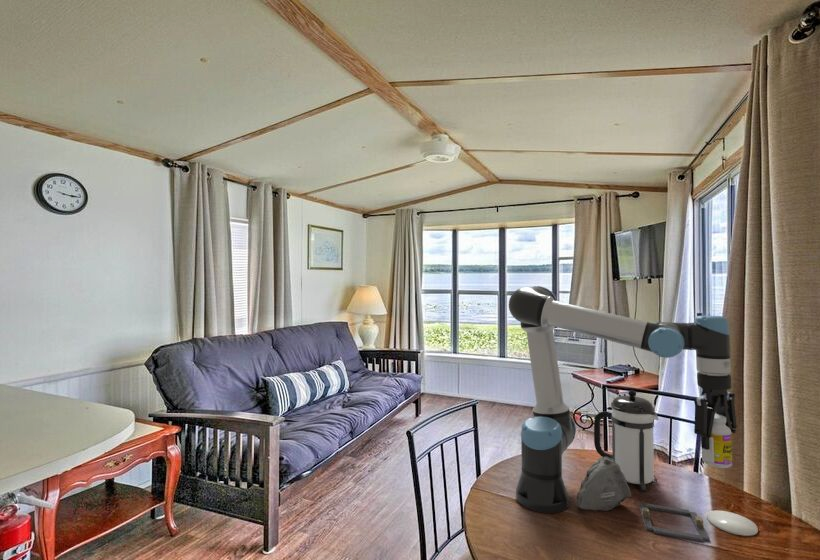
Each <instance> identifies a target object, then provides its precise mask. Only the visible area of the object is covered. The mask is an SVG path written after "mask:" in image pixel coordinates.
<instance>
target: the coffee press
mask: <svg viewBox="0 0 820 560" xmlns="http://www.w3.org/2000/svg"><path fill="white" fill-rule="evenodd" d="M627 394H628V395H619V396H616V397H615V398H613V400H612V402H611V403H610V407H611V412H610V411H600V412H598V413H597V414H596V415H595V418H594V422H593V440H594V441H593V442H594V448H595V450H596V452H597V454H598V455H600V456H601V458H602V457H609V458H612V459H613V460H614V461H615V462H616V463H617V464H618V465H619V466H620V469H621V472H622V473H623V474H624V476H625V479H626V482H627V483H629V484H630V483H631V484H635V485H637V487H638V489H639V491H640V492H643V493H645V492H647V487H646V484H649V483H651V482H653V483H657V482H658V478H657V477H656V476H655V470H654V467H655V465H654V464H655V462H654V459H655V458H654V457H655V453H654V448H655V447H654V443H655V442H654V428H655V421H659V420H660V419H659V416H658V415H657V413H656V408H655V407H654V406H653V404H652V403H651V402H650V401H649V400H647V399H645V398H643V397H640V396H637V393H636V391H635V390H633V389H632V390H631V389H630V390H629V391H628V392H627ZM602 418H611V419H610V420H611V424H612V425H611V426H612V427H611V430H612V431H611V432H612V433H611V434H612V435H611V437H612V438H611V441H612V442H611V443H612V447H611V448H612V454H611V453H608V452H606V451H604V450H603V448H602V446H601V421H602Z"/></svg>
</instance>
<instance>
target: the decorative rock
mask: <svg viewBox="0 0 820 560" xmlns="http://www.w3.org/2000/svg"><path fill="white" fill-rule="evenodd" d="M631 496H632V493H631V489H630V487H629V485H628V482H626V479H625V476H624V474H623V473H622V472H621V469H620V466H619V465H618V464H617V463H616V462H615V461H614V460H613V459H612V458H609V457H602V456H601V457H599V458H598V459H597V461H596V462H595V463H593V464H592V465H590V467H589V468H588V470H587V471H586V476H585V478H584V480H582V481H581V482H580V487H579V490H578V492H577V493H576V507H577V508H580V509H584V510H593V511H604V512H605V511H607V512H608V511H609V510H613V509H614V508H615V507H618V506H620V505H621V503H622V502H624V501H625V500H626V499H628V498H629V499H630V497H631Z"/></svg>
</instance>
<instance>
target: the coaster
mask: <svg viewBox="0 0 820 560" xmlns="http://www.w3.org/2000/svg"><path fill="white" fill-rule="evenodd" d="M706 520H707V521H708V522H709V524H711V525H712V526H713V527H715V528H717V529H719V530H721V531H724V532H726V533H728V534H732V535H736V536H743V537H753V536H755V535H757V534H758V532H759V529H758V526H757V525H756V523H754V521H752V520H750V519H749V518H747V517H745V516H744V515H741V514H737V513H735V512H730V511H728V510H727V511H726V510H716V509H715V510H710V511H708V512H707V513H706Z"/></svg>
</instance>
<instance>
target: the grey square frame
mask: <svg viewBox="0 0 820 560" xmlns="http://www.w3.org/2000/svg"><path fill="white" fill-rule="evenodd" d="M638 508H639V511H640V513H641V517H642V520H643V524H644V527H645V530H646V531H650V532H652V533H653V534H657V535H663V536H668V537H673V538H680V539H684V540H690V541H694V542H700V543H701V542H702V543H703V542H704V541H705V542H711V541H710V539H711V538H710V536H709V535H708V532H707V531H706V529H705V527H704V525H705V524H704V518H702V516H698V514H697V513H696V512H695V511H690V510H689V509H683V508H677V507H671V506H665V505H659V504H653V503H647V502H645V503H638ZM650 510H653V511H658V512H662V513H663V512H665V513H671V514H674V515H675V514H676V515H683V516H687V517H688V516H689V517H690V519H691V520H692V523H693V524H694V525H693V526H694V527H695V528H696V530H697V533H698V534H696V533H692V532H691V533H690V532H684V531H680V530H673V529H669V528H668V529H667V528H662V527H656V526H653V525H652V521H651V518H650Z"/></svg>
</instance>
